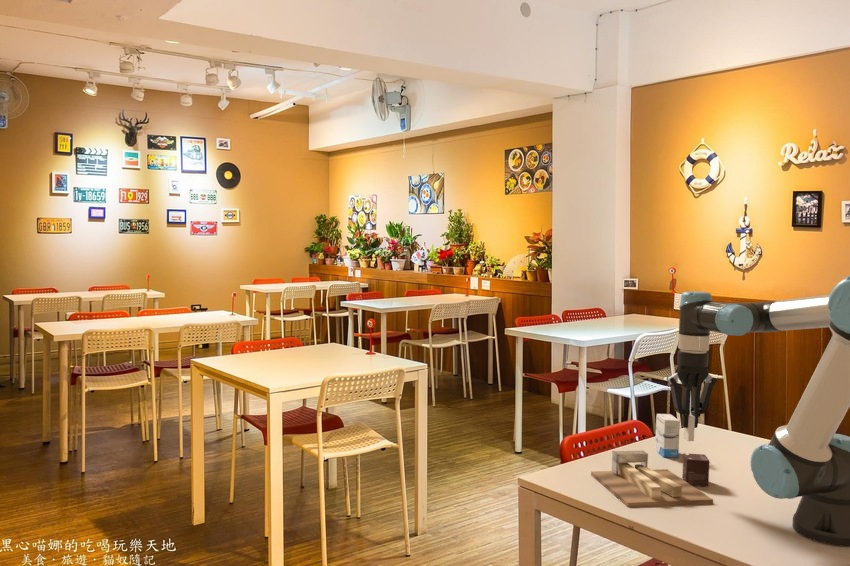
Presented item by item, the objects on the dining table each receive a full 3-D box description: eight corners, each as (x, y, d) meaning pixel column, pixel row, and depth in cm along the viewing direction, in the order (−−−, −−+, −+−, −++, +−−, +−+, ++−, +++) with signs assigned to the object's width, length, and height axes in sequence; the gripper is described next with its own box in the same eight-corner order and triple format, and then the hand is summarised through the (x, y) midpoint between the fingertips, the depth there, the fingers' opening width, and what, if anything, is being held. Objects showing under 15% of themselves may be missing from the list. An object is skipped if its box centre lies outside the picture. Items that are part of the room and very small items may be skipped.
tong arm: (632, 474, 198) (633, 464, 198) (640, 473, 198) (640, 464, 198) (673, 497, 180) (673, 486, 180) (681, 496, 181) (681, 485, 181)
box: (708, 487, 192) (709, 460, 192) (685, 485, 193) (686, 459, 193) (704, 480, 198) (705, 454, 198) (681, 478, 199) (682, 452, 199)
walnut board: (713, 503, 180) (713, 499, 180) (627, 506, 176) (627, 502, 176) (667, 472, 204) (667, 469, 204) (591, 475, 200) (591, 471, 200)
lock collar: (647, 473, 198) (647, 453, 198) (616, 474, 197) (616, 454, 197) (642, 470, 201) (643, 450, 201) (611, 471, 200) (612, 451, 200)
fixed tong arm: (660, 498, 180) (661, 487, 180) (651, 499, 179) (651, 487, 179) (624, 471, 201) (624, 460, 201) (616, 471, 201) (616, 461, 200)
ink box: (678, 458, 218) (680, 420, 217) (663, 457, 218) (664, 420, 217) (669, 449, 227) (671, 413, 226) (654, 449, 227) (655, 413, 226)
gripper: (710, 348, 188) (705, 435, 190) (662, 348, 187) (658, 435, 189) (724, 353, 181) (719, 444, 182) (675, 352, 180) (670, 444, 181)
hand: (688, 439), depth 185 cm, fingers closed
